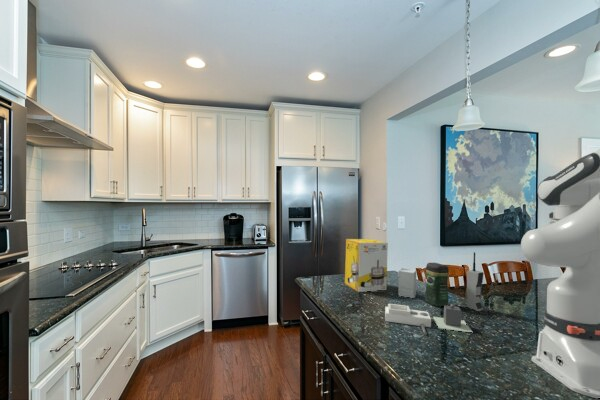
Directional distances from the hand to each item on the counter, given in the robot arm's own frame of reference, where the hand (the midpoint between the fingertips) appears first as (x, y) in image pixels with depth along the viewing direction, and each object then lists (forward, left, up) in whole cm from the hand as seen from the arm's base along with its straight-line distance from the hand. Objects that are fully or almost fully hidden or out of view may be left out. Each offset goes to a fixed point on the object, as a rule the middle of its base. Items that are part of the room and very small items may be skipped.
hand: (570, 253), depth 105 cm
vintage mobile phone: (+16, +26, -29) cm, 42 cm away
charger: (-7, +40, -29) cm, 50 cm away
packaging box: (+34, +74, -29) cm, 87 cm away
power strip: (-12, +56, -29) cm, 64 cm away
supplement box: (+26, +53, -29) cm, 66 cm away
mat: (-7, +40, -29) cm, 50 cm away
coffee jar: (+18, +41, -29) cm, 54 cm away
